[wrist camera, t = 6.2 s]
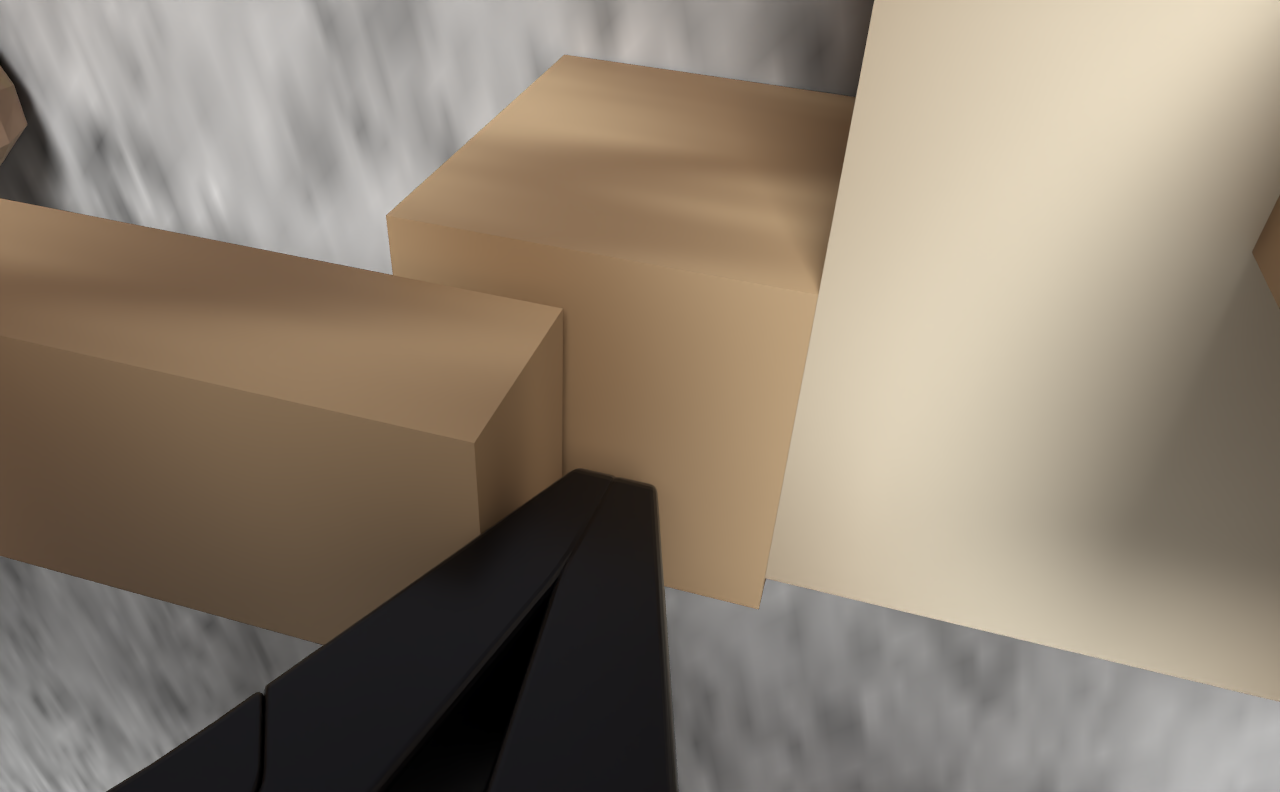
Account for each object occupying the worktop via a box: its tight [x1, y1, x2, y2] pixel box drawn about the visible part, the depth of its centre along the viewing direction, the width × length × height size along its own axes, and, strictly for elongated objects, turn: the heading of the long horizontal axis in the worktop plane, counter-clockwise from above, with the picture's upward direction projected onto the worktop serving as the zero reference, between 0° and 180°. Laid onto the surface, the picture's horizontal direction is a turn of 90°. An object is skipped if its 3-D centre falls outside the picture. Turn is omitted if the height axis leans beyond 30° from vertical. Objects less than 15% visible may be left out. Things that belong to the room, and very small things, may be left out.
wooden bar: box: [0, 198, 563, 645], centre depth 10 cm, size 10×3×2 cm, turn 87°
